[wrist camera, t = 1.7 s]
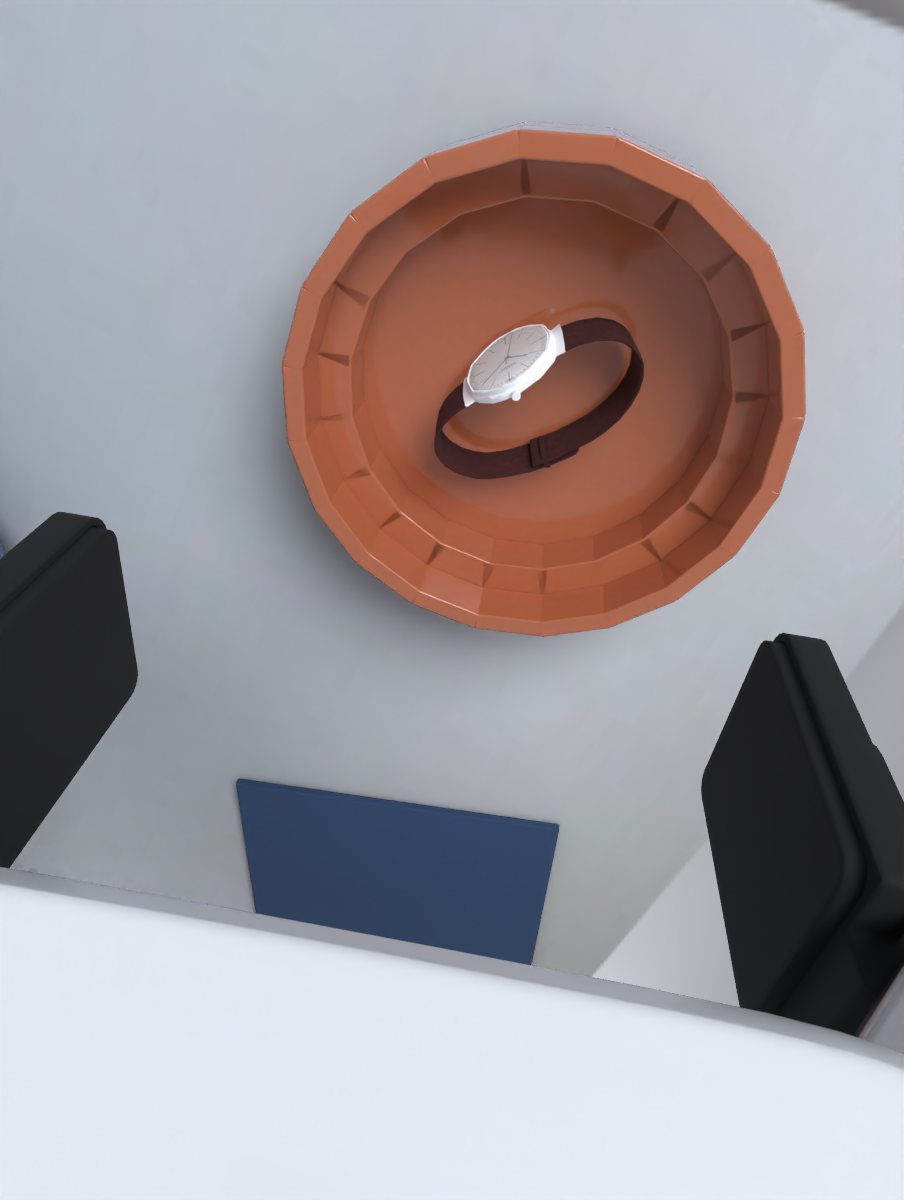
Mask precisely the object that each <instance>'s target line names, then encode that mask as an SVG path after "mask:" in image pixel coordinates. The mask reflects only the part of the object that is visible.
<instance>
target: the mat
mask: <svg viewBox="0 0 904 1200" xmlns="http://www.w3.org/2000/svg"><path fill="white" fill-rule="evenodd" d="M236 786H237V792H238V799H239V805H240V812H241V818H242V825H243V831H244V838H245V844H246V851H247V857H248V864H249V870H250V876H251V883H252V889H253V896H254V902H255V909H256V914H262V915H267V916H273V917H278V918H283V919H289V920H294V921H299V922H305V923H310V924H316V925H321V926H326V927H332V928H337V929H342V930H347V931H353V932H358V933H363V934H369V935H374V936H379V937H385V938H390V939H395V940H401V941H406V942H411V943H417V944H422V945H427V946H433V947H438V948H443V949H448V950H454V951H459V952H464V953H469V954H474V955H480V956H485V957H490V958H495V959H500V960H505V961H511V962H516V963H521V964H526V965H531V963H532V958H533V953H534V949H535V944H536V939H537V934H538V929H539V924H540V919H541V915H542V910H543V905H544V900H545V895H546V890H547V885H548V881H549V876H550V871H551V866H552V861H553V856H554V851H555V847H556V842H557V837H558V832H559V825H558V824H551V823H544V822H537V821H530V820H523V819H516V818H509V817H502V816H495V815H488V814H481V813H474V812H467V811H460V810H453V809H446V808H439V807H432V806H425V805H418V804H411V803H404V802H397V801H390V800H383V799H376V798H369V797H362V796H355V795H348V794H341V793H334V792H327V791H320V790H313V789H306V788H299V787H292V786H285V785H278V784H271V783H264V782H257V781H250V780H243V779H238V781H237V783H236Z"/></svg>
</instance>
